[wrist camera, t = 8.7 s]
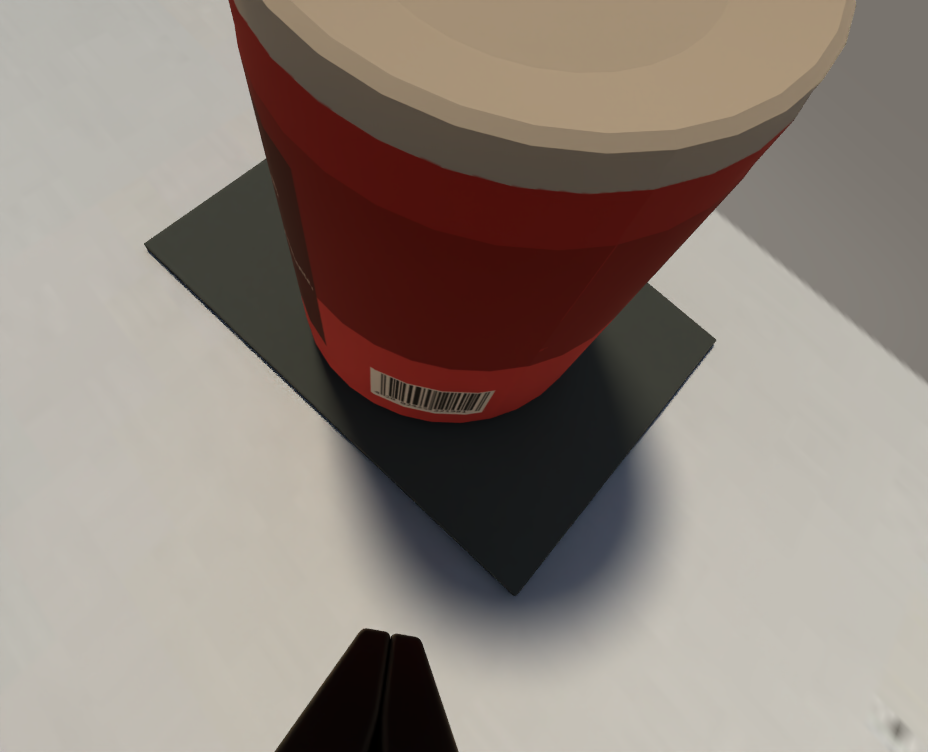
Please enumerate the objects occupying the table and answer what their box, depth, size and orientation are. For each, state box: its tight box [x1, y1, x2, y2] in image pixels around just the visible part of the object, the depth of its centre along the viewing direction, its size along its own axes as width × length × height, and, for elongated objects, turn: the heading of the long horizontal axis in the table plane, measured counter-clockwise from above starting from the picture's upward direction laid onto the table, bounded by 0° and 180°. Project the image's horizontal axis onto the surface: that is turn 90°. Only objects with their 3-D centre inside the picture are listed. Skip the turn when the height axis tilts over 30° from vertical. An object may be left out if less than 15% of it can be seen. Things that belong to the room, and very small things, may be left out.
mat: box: [144, 159, 716, 596], centre depth 17 cm, size 10×14×1 cm
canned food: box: [229, 0, 856, 423], centre depth 12 cm, size 8×8×11 cm
